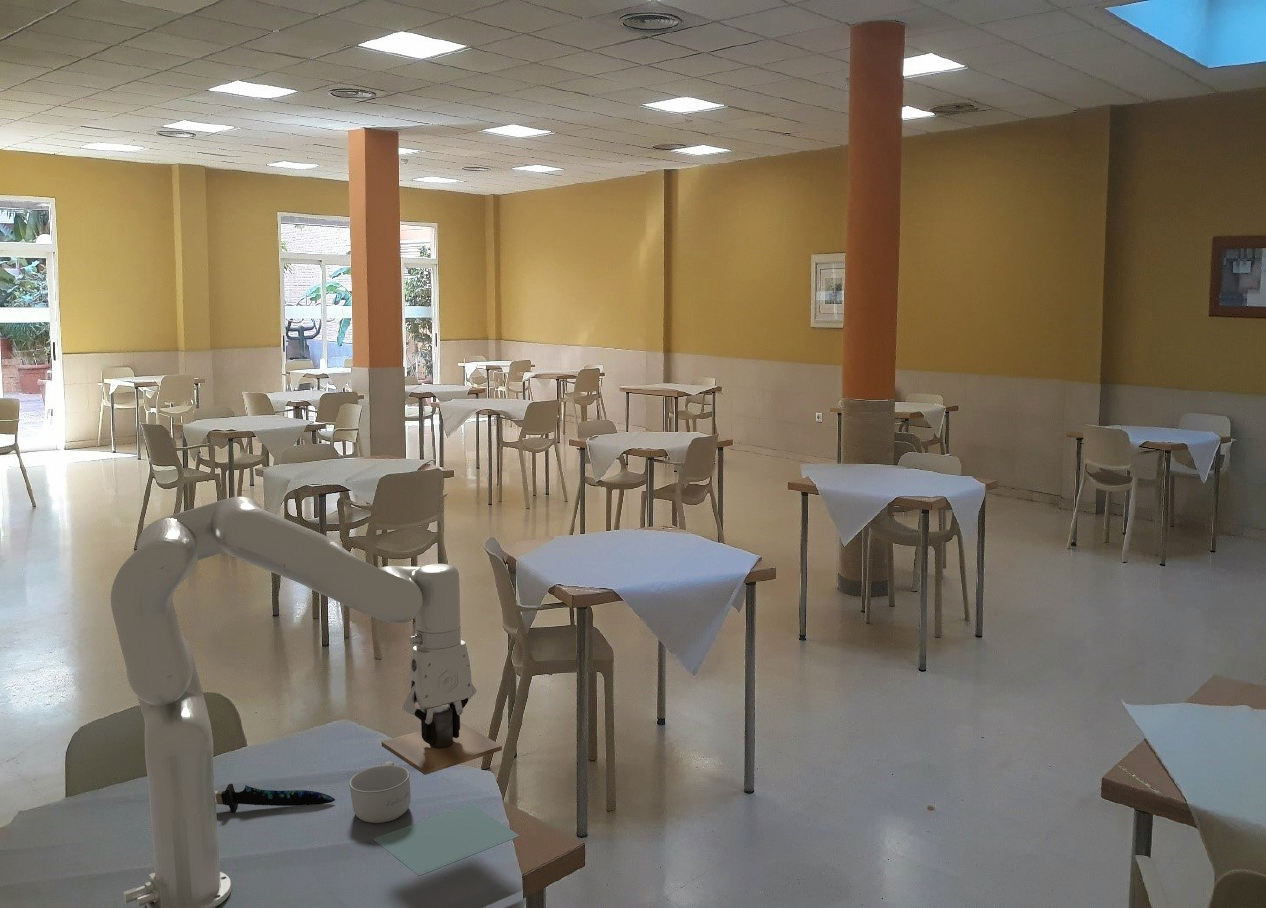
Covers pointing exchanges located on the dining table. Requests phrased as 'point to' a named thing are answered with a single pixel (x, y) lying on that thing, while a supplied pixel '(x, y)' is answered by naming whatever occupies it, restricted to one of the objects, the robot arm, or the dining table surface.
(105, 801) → the dining table surface
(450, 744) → the lid
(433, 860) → the mat
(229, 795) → the knife
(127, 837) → the dining table surface
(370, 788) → the teacup
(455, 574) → the robot arm
